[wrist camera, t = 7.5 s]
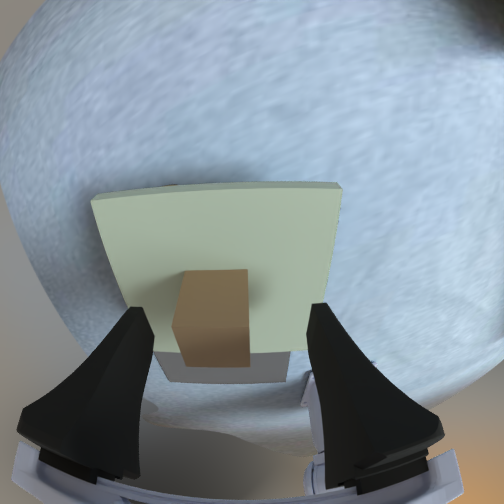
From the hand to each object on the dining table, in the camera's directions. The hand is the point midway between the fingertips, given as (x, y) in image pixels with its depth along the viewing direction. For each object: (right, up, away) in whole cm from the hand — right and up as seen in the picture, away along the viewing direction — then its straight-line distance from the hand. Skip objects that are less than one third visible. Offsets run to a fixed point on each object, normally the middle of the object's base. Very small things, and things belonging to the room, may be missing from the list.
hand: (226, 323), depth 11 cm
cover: (-1, +1, +3) cm, 3 cm away
